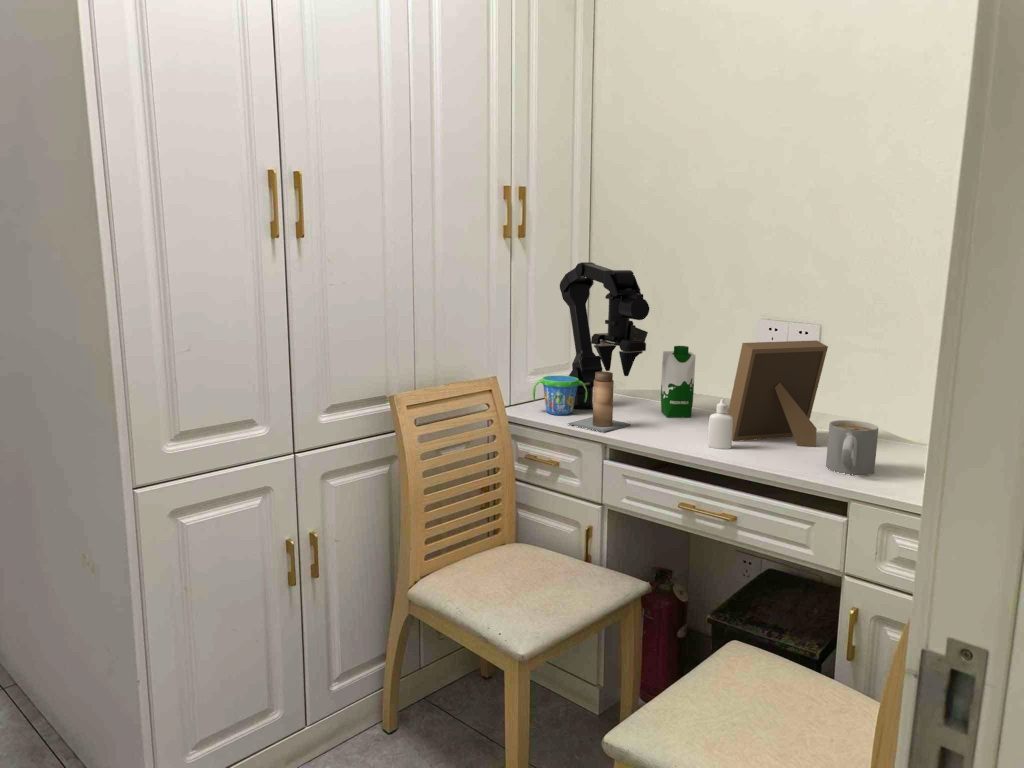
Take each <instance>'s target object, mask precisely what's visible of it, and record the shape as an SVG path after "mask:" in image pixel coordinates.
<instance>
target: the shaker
mask: <svg viewBox="0 0 1024 768" xmlns="http://www.w3.org/2000/svg"><path fill="white" fill-rule="evenodd" d="M613 379H614V373H613V372H612V371H603V372H595V380H594V387H593V409H592V417H593V425H594V426H596V427H610V426H612V420H613V419H614V418H613V417H614V416H613V414H614V413H613V411H614V384H615V382H614V380H613Z"/></svg>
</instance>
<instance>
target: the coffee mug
mask: <svg viewBox="0 0 1024 768" xmlns="http://www.w3.org/2000/svg"><path fill="white" fill-rule="evenodd" d="M878 436H879V426H878V425H875V424H873V423H870V422H866V421H859V420H847V419H846V420H845V419H841V420H839V419H838V420H832V421H829V425H828V437H827V438H828V439H827V449H826V461H825V468H826V467H827V468H828V469H827V468H826V469H827V470H829V469H830V470H829V471H831V470H832V471H831V472H833V471H835V472H834V473H836V472H839V473H838V474H840V473H845V474H844V475H846V474H853V475H852V476H855V475H865V476H869V475H868V474H871V475H873V474H874V473H875V468H876V460H877V458H876V457H877V449H878V448H877V446H878ZM872 473H873V474H872Z"/></svg>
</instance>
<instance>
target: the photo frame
mask: <svg viewBox="0 0 1024 768" xmlns="http://www.w3.org/2000/svg"><path fill="white" fill-rule="evenodd" d="M828 348H829V347H828V345H826V344H824V343H822V342H820V341H819V340H816V339H815V340H795V341H794V340H792V341H790V340H787V341H765V342H764V341H761V342H760V341H758V342H756V341H755V342H742V345H741V349H740V353H739V359H738V364H737V368H736V372H735V378H734V381H733V387H732V391H731V397H730V401H729V407H728V409H727V414H729V415H731V416H732V417H733V431H732V442H741V441H740V440H744V441H753V440H754V439H757V440H767V438H770V439H780V438H781V437H783V438H793V439H794V440H795V441H794V442H795V443H796V446H801V447H803V446H804V447H805V446H807V447H816V446H817V429H818V428H817V427H816V426H815V424H813V422H812V420H811V415H812V411H813V407H814V403H815V400H816V395H817V392H818V391H817V390H818V389H819V388H818V387H819V384H820V379H821V375H822V373H823V368H824V364H825V360H826V356H827V352H828ZM792 436H794V437H792ZM781 439H782V438H781Z"/></svg>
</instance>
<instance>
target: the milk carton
mask: <svg viewBox="0 0 1024 768" xmlns="http://www.w3.org/2000/svg"><path fill="white" fill-rule="evenodd" d="M689 348H690V347H689V346H688V345H687V346H686V345H674V346H673V350H663V351H662V363H661V383H660V411H661V413H662V414H663V415H664V416H665V417H666V418H692V412H693V404H694V393H695V392H694V389H695V374H696V373H695V372H696V370H695V369H696V354H695V353H693V352H691V351H689Z"/></svg>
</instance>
